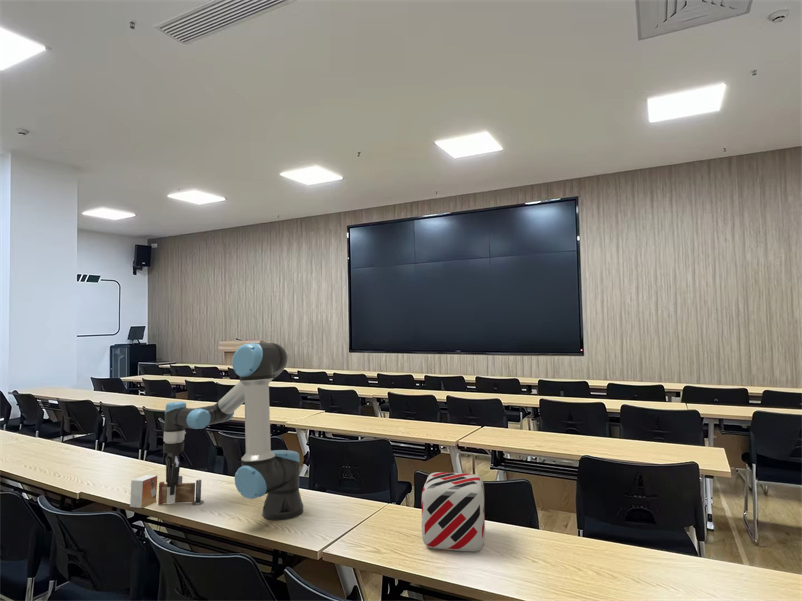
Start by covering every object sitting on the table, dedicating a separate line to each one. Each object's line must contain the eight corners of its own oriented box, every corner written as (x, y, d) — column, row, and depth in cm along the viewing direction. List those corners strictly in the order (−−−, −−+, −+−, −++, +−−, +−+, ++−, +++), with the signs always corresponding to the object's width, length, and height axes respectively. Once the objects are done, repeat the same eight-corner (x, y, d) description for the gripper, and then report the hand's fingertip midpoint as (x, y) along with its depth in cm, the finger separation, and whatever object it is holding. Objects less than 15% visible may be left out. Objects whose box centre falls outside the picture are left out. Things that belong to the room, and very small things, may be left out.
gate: (194, 502, 186) (195, 480, 187) (192, 503, 184) (193, 482, 185) (159, 503, 184) (160, 481, 185) (157, 505, 182) (158, 483, 183)
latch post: (185, 496, 194) (186, 475, 194) (178, 498, 191) (179, 477, 191) (177, 494, 196) (178, 474, 196) (170, 497, 193) (171, 476, 193)
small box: (141, 508, 180) (142, 480, 181) (129, 507, 181) (130, 479, 182) (156, 501, 187) (158, 475, 188) (145, 500, 189) (146, 474, 190)
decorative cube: (485, 557, 139) (484, 489, 141) (420, 552, 143) (419, 486, 145) (484, 530, 159) (484, 471, 161) (427, 526, 163) (427, 468, 164)
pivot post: (206, 502, 186) (207, 479, 187) (197, 505, 182) (198, 482, 183) (198, 500, 188) (199, 478, 189) (189, 504, 184) (190, 481, 185)
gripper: (188, 442, 181) (185, 505, 178) (179, 437, 191) (176, 496, 188) (168, 445, 176) (164, 509, 173) (159, 440, 186) (156, 500, 183)
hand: (170, 502), depth 181 cm, fingers closed
